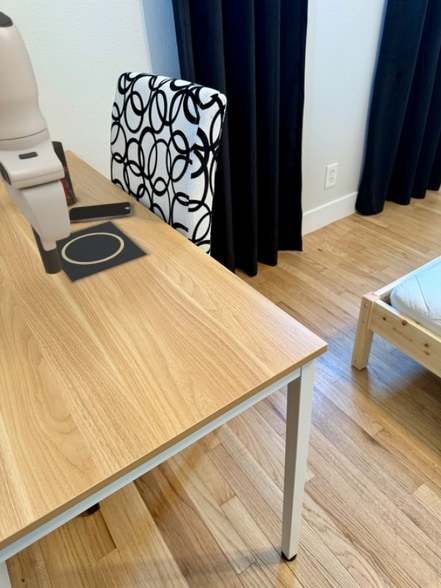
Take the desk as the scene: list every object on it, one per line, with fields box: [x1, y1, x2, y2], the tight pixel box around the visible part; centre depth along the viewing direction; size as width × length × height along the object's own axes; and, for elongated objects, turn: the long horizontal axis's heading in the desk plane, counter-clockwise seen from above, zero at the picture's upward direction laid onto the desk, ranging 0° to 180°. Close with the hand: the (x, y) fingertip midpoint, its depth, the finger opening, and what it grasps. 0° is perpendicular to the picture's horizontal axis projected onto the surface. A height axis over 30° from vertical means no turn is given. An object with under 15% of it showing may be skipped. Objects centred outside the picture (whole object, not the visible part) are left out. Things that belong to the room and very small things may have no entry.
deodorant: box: [51, 140, 77, 208], centre depth 107 cm, size 6×6×15 cm
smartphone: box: [68, 201, 133, 224], centre depth 105 cm, size 8×1×15 cm
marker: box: [30, 225, 63, 275], centre depth 65 cm, size 3×3×13 cm
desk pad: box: [55, 220, 148, 283], centre depth 92 cm, size 16×19×1 cm
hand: (45, 242), depth 66 cm, fingers closed on marker, 2 cm apart
